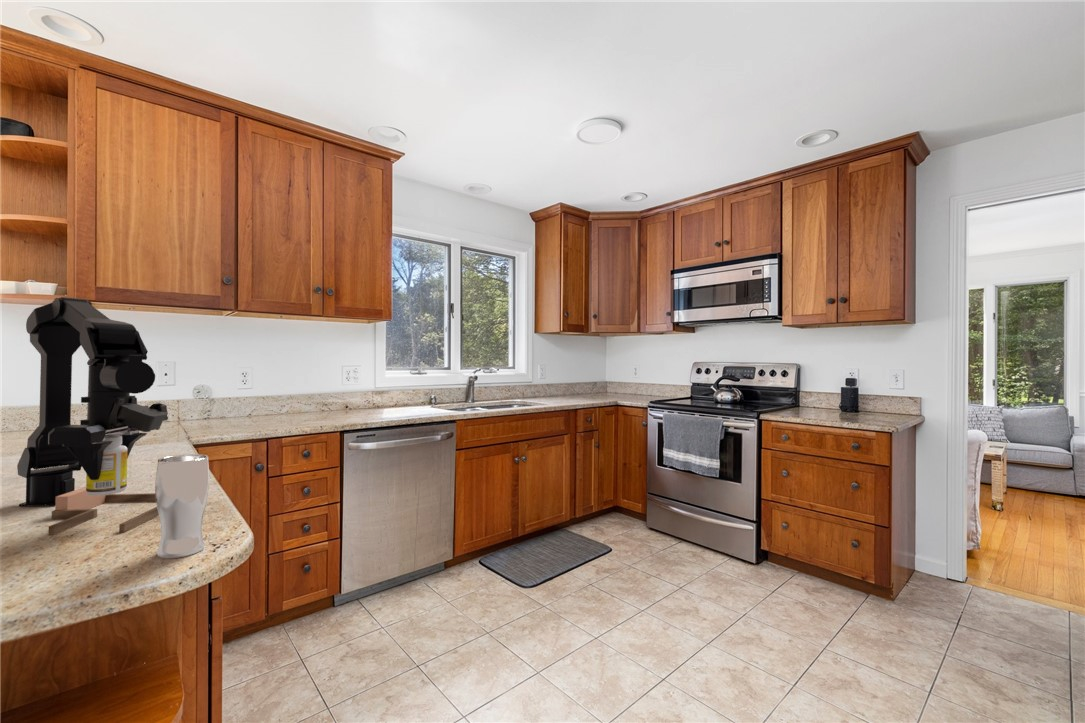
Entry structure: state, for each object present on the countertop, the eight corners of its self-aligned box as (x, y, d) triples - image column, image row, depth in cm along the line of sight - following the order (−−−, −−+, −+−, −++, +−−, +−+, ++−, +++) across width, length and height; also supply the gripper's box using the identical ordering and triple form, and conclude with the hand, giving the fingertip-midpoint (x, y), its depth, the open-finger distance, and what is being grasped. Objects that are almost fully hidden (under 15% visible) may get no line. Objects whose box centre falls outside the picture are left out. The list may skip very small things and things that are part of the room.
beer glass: (164, 563, 72) (167, 464, 72) (145, 553, 76) (148, 458, 76) (215, 549, 78) (218, 457, 78) (195, 540, 82) (198, 452, 82)
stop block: (55, 517, 92) (55, 496, 92) (94, 502, 101) (95, 483, 101) (67, 517, 92) (67, 496, 92) (105, 502, 102) (105, 483, 102)
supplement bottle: (114, 487, 92) (116, 433, 92) (133, 490, 90) (135, 435, 90) (78, 494, 87) (79, 437, 87) (97, 498, 85) (99, 440, 85)
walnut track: (6, 536, 82) (6, 527, 82) (97, 501, 102) (97, 494, 102) (124, 532, 85) (124, 524, 85) (190, 499, 105) (190, 492, 105)
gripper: (123, 395, 80) (120, 488, 80) (186, 388, 99) (184, 464, 99) (46, 394, 79) (43, 489, 78) (125, 387, 97) (123, 465, 97)
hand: (106, 475), depth 88 cm, fingers closed on supplement bottle, 6 cm apart
